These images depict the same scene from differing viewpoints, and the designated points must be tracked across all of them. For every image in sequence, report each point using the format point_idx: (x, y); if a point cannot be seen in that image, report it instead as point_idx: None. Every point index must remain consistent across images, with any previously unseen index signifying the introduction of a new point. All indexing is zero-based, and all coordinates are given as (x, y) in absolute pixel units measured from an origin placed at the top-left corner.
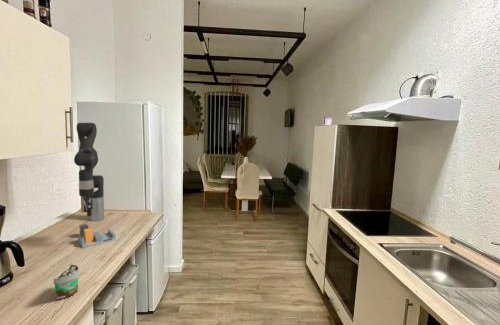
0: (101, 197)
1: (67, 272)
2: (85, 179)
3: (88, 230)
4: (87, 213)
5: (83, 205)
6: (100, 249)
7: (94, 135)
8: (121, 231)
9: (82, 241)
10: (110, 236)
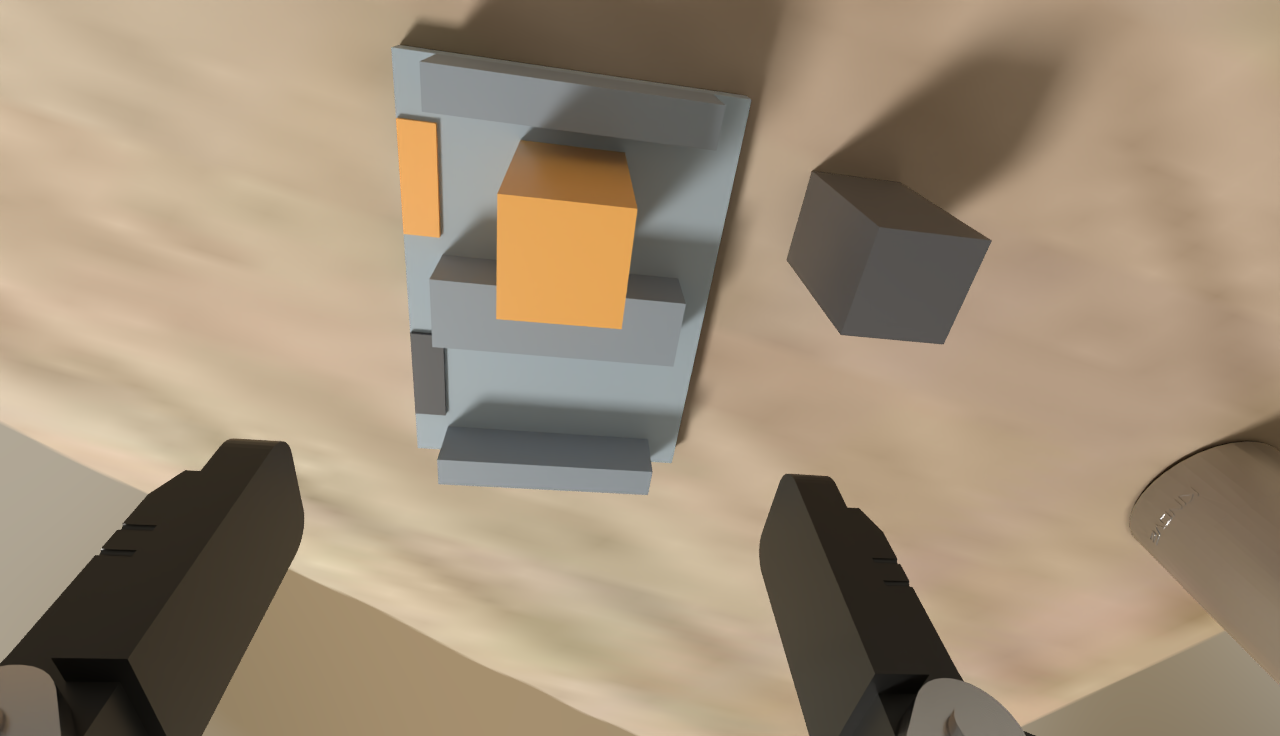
0: None
1: None
2: None
3: (511, 253)
4: (178, 513)
5: (910, 731)
6: (206, 214)
7: None
8: (637, 538)
9: (420, 72)
10: (526, 427)
